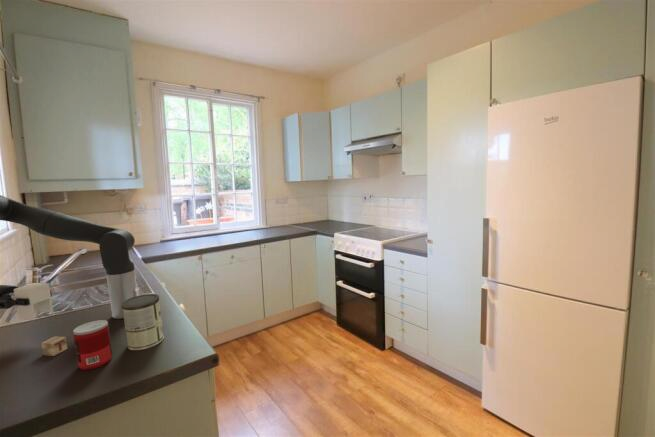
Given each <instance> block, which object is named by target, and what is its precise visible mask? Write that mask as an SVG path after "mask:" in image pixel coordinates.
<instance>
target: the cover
mask: <svg viewBox="0 0 655 437" xmlns="http://www.w3.org/2000/svg"><path fill="white" fill-rule="evenodd" d="M18 287H19V288H16V289H14V293H15V298H28V299H29V301H30V305H28V306H21V305H19V306H16V309H17V316H18V317H17V318H18V319H19V320H31V321H32V320H33V321H34V320H36V313H54V308H53V307H54V306H53V302H52V297H51V294H52V293H51V294H50V291H51V287H50V283H49V282H33V283H29V284H25V285H23V286H18Z"/></svg>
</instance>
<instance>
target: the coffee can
mask: <svg viewBox="0 0 655 437" xmlns="http://www.w3.org/2000/svg"><path fill="white" fill-rule="evenodd" d="M160 305H161V304H160V295H158V294H155V293H148V294H147V293H146V294H139V296H136V297H132V298H130V299H127V300H125V301H124V302H122V304H121V306H122V310H123V317H124V318H123V323H124V330H125V337H126V343H127V349H128V350H130V351H141V350H147V349H150V348H152V347H155V346H157V345H159V344H160V343H161V342H163V340H164V338H165V336H164V329H163V321H162V313H161V306H160Z"/></svg>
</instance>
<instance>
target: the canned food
mask: <svg viewBox="0 0 655 437" xmlns="http://www.w3.org/2000/svg"><path fill="white" fill-rule="evenodd" d="M108 322H109V321H107V320H104V319H100V320H99V319H97V320H92V321H89V322H86V323H83V324H81V325H78V326H77V327H75V328H74V329H73V330H72V334H73V335H72V336H73V341H74V347H75V354H76V359H77V360H76V361H77V365H78V368H79V369H80V370H83V371H88V370H89V371H90V370H95V369H97V368H100V367H102V366H104V365H106V364H107V363H109V362H110V361H111V360H112V358H113V349H112V348H113V347H112V342H111V341H112V340H111V334H110V333H111V332H110V327H109V323H108Z"/></svg>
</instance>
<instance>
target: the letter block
mask: <svg viewBox="0 0 655 437" xmlns="http://www.w3.org/2000/svg"><path fill="white" fill-rule="evenodd" d="M41 349H42V354H43V356H51V357H52V356H53V357H54V356H57V355H59V354H60V353H62V352H65V351H66V350H67V349H68V344H67V337H66V336H53V337H51V338H48V339H47V340H45V341H42V342H41Z"/></svg>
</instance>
